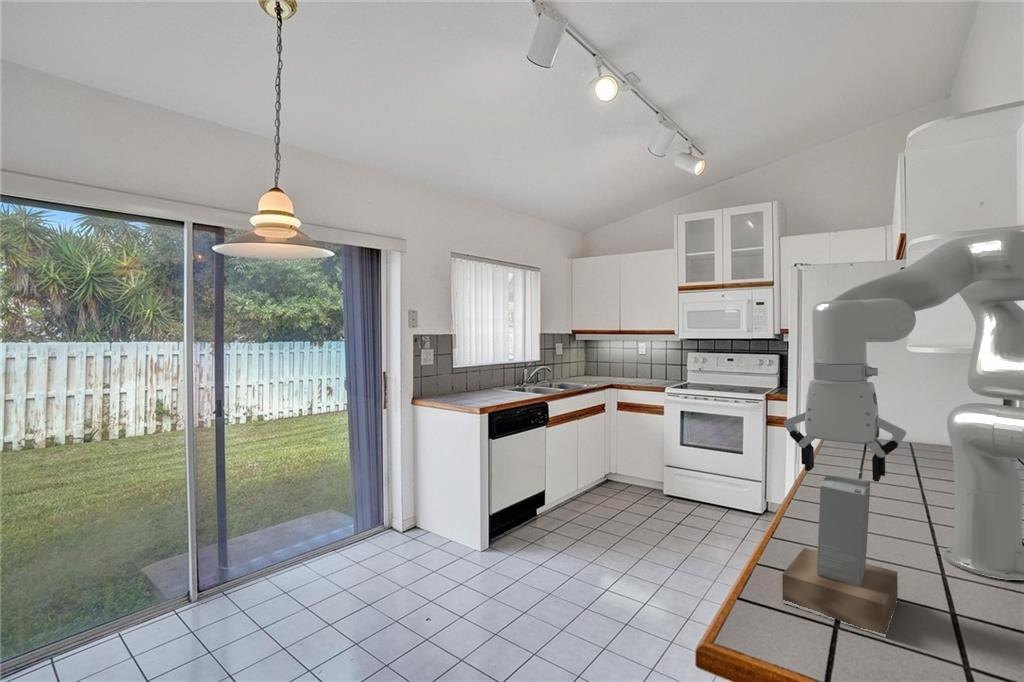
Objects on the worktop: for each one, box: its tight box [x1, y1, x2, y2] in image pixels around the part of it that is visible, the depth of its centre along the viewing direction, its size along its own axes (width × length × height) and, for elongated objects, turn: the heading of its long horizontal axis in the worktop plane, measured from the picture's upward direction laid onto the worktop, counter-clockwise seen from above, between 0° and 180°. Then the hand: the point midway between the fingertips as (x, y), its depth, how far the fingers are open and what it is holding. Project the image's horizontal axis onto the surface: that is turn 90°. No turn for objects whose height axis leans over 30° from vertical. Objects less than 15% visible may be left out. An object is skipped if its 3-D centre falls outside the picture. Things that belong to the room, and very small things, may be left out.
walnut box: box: [781, 547, 899, 634], centre depth 83 cm, size 14×14×5 cm
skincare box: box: [816, 473, 871, 587], centre depth 83 cm, size 8×7×16 cm
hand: (841, 474), depth 83 cm, fingers open, 9 cm apart
